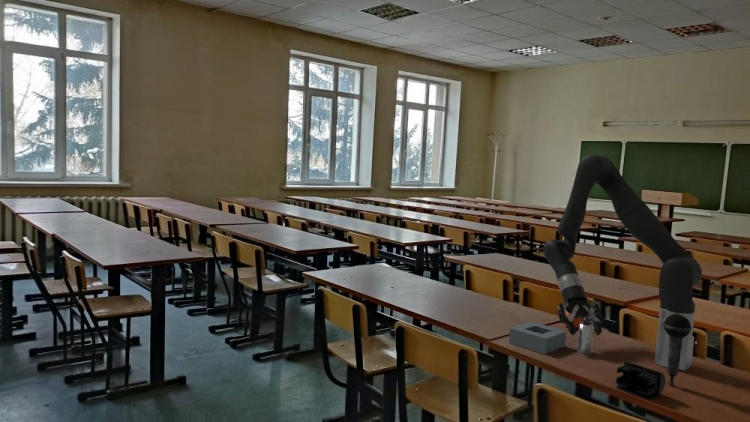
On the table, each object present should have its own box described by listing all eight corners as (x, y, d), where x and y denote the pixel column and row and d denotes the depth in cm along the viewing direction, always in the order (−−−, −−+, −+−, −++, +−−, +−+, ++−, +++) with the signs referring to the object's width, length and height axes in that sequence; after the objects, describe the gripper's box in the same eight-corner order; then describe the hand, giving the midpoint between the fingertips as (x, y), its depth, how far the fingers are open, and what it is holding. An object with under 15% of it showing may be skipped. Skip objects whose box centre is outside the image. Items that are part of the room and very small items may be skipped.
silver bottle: (594, 352, 175) (596, 318, 174) (587, 355, 172) (590, 321, 171) (580, 348, 178) (583, 315, 177) (574, 351, 175) (577, 317, 174)
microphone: (690, 391, 147) (698, 318, 145) (664, 389, 147) (672, 317, 146) (677, 381, 154) (684, 311, 152) (652, 379, 154) (659, 310, 152)
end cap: (664, 396, 144) (666, 371, 143) (650, 402, 139) (653, 376, 139) (627, 382, 152) (630, 358, 151) (613, 387, 147) (615, 363, 147)
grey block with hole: (565, 346, 180) (566, 331, 179) (544, 354, 171) (545, 338, 171) (530, 335, 189) (531, 321, 189) (509, 342, 180) (510, 328, 180)
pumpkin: (578, 331, 197) (580, 311, 196) (557, 326, 202) (558, 307, 202) (586, 327, 203) (588, 308, 202) (565, 322, 208) (567, 303, 207)
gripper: (556, 283, 180) (570, 328, 170) (596, 284, 182) (613, 328, 172) (547, 295, 186) (561, 339, 176) (587, 296, 188) (602, 339, 178)
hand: (586, 334), depth 174 cm, fingers open, 8 cm apart
